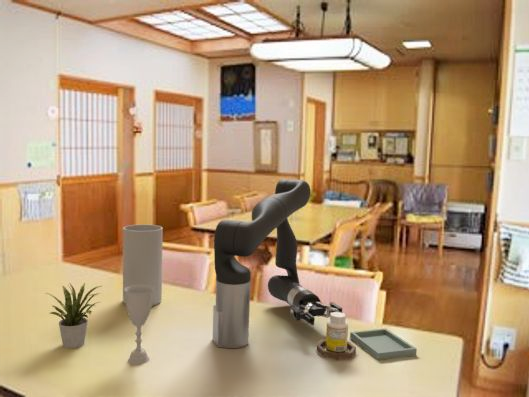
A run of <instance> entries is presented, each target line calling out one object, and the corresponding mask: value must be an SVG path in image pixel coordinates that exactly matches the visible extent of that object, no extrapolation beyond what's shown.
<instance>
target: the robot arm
mask: <svg viewBox="0 0 529 397" xmlns="http://www.w3.org/2000/svg"><path fill="white" fill-rule="evenodd" d="M311 192H312V191H311V186H310V184H309V183H308V182H307V181H305V180H303V179H290V178H289V179H285V178H284V179H283V178H282V179H280V180H278V181H277V183H276V185H275V191H274V194H271V195H269V196H266V197H264V198H262V199H261V200H260V201H258V202H257V203H256V204H255V205H254V207H253V208H252V209H251V210H252V211H251V221H243V220H242V221H241V220H232V219H222V220H220V221H219V222H218V223H217V225H216V228H215V230H214V236H213V237H214V238H213V248H214V250H213V251H214V257H213V258H214V271H215V277H216V278H215V281H216V282H215V304H214V305H213V306H212V307H213V309H212V310H213V311H212V313H213V314H212V340H213V342H214V343H215V345H216V347H217V348H227V349H235V348H236V349H237V348H238V349H239V348H242V347H245V346H247V345H248V344H249V337H250V336H249V335H250V332H249V331H250V305H251V304H250V303H251V283H252V282H251V281H252V278H251V277H252V272H251V270H250V269H249V268H248V267H246V266H245V265H244V264H242V263H241V262H239V261H238V260H237V258H236V257H240V258H241V257H243V258H244V257H245V258H246V257H250V256H252V254H254V253H255V252H256V251H257V250H258V249H259V247H260V246H261V245H262V243H263V242H264V240H265V239H266V238H267V237H268V236H269V235H270V234H271V233H272V232H273V231H274V230H275V229H276V248H275V249H276V250H275V266H276V267H277V268H278V269H283V270H285V271H286V273H287V275H277V274H276V275H273V276H271V277H270V278H269V280H268V282H267V289H268V292H269V294H270V295H271V296H272V297H273V298H274V299H277V300H280V301H282V302H285V303H287V304H288V305H289V306H290V316H292V318H293V319H295V321H298V322H300V321H301V320H302V321H304V322H307V324H309V325H311V326H314V325H315V317H323V318H327V319H328V318H329V319H330V314H331V313H332V312H340V313H343V307H342V306H340V305H338V304H337V303H335V302H333V301H330V302H329V304H325V303H323V302H322V301H321V299H320V298H319V296H318V295H317V294H315V293H314V292H312V291H311V290H309V288H306V287H304V286H303V285H301V284H300V280H299V274H298V268H297V255H298V254H297V253H298V241H297V237H296V235H295V233H294V231H293V229H292V227H291V224H290V223H289V220H288V218H289V217H290V216H291V215H293V214H294V213H295V212H297V211H299V210H300V209H302V208H303V207H305V206H306V205H307V204H308V203H309V200H310V197H311V194H312V193H311Z"/></svg>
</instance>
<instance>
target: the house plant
mask: <svg viewBox="0 0 529 397" xmlns="http://www.w3.org/2000/svg"><path fill="white" fill-rule="evenodd" d="M67 286H68V287H69V288H70V291H69V290H68V289H67V287H66V286H64V285H62V290H63V295H64V300H65V302H64V303H63V302H62V301H61V300H60V299H58V298H57V297H56V296H55V295H52V294H50V293H48V292H45V294H46V295H49V296H51V297H53V298H54V299H55V300H56V301H57V303H59V304H60V306H61V307H62V308H63V310H62V309H61V308H59V307H58V306H56V305H53V304H52V305H51V307H52V308H54V309H55V310H56V311H57V312H56V311H51V312H49V314H50V315H55V316H57V317H59V318H61V320H60V321H58V327H59V331H60V333H59V334H60V337H61V343H62V347H64V348H65V349H77V348H81V347H83V346H84V345H85V340H86V336H87V335H86V334H87V328H88V322H89V318H88V315H87V314H89V315H90V316H91V315H92V312H93V311H92V310H90V309H91V308H93V306H94V307H96V304H98V303H100V301H97V302H94V303H93V304H91V303H89V302H90V301H91V300H92V298H93V297H96V296H97V295H99V294H101V293H100V292H96V293H93V294H91V293H92V292H93V291H95V290H96V289H99V288H101V287H102V285H100V286H99V285H98V286H95V287H93V288H92V289H90V290H89V291H88V292H87V293H86V294H85V295H84V292H85V286H86V283H85V282H84V283H83V284H82V285H81V286H80V289H79V292H78V293H76V289H75V287H74V286H73V285H72V284H71V283H69V284H67ZM83 295H84V297H83ZM82 298H83V299H82ZM86 300H87V301H86ZM84 303H85V304H84ZM86 308H87V309H86ZM85 309H86V311H84V310H85ZM64 311H65V312H64ZM83 311H84V312H83ZM82 345H83V346H82Z"/></svg>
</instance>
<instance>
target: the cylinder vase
mask: <svg viewBox="0 0 529 397" xmlns="http://www.w3.org/2000/svg"><path fill="white" fill-rule="evenodd" d="M122 228H123V229H122V238H123V239H122V251H123V252H122V302H123V304H125V306H127V294H126V292H125V290H124V289H125V288H126V287H128V286H131V285H136V284H146V285H151V286H153V287H154V289H153V291H152V296H151V307H153V306H156V305H158V304H160V303H161V302H162V297H163V296H162V295H163V292H162V291H163V229H164V228H163V227H162V226H161V225H156V224H131V225H130V224H129V225H126V226H123V227H122Z"/></svg>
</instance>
